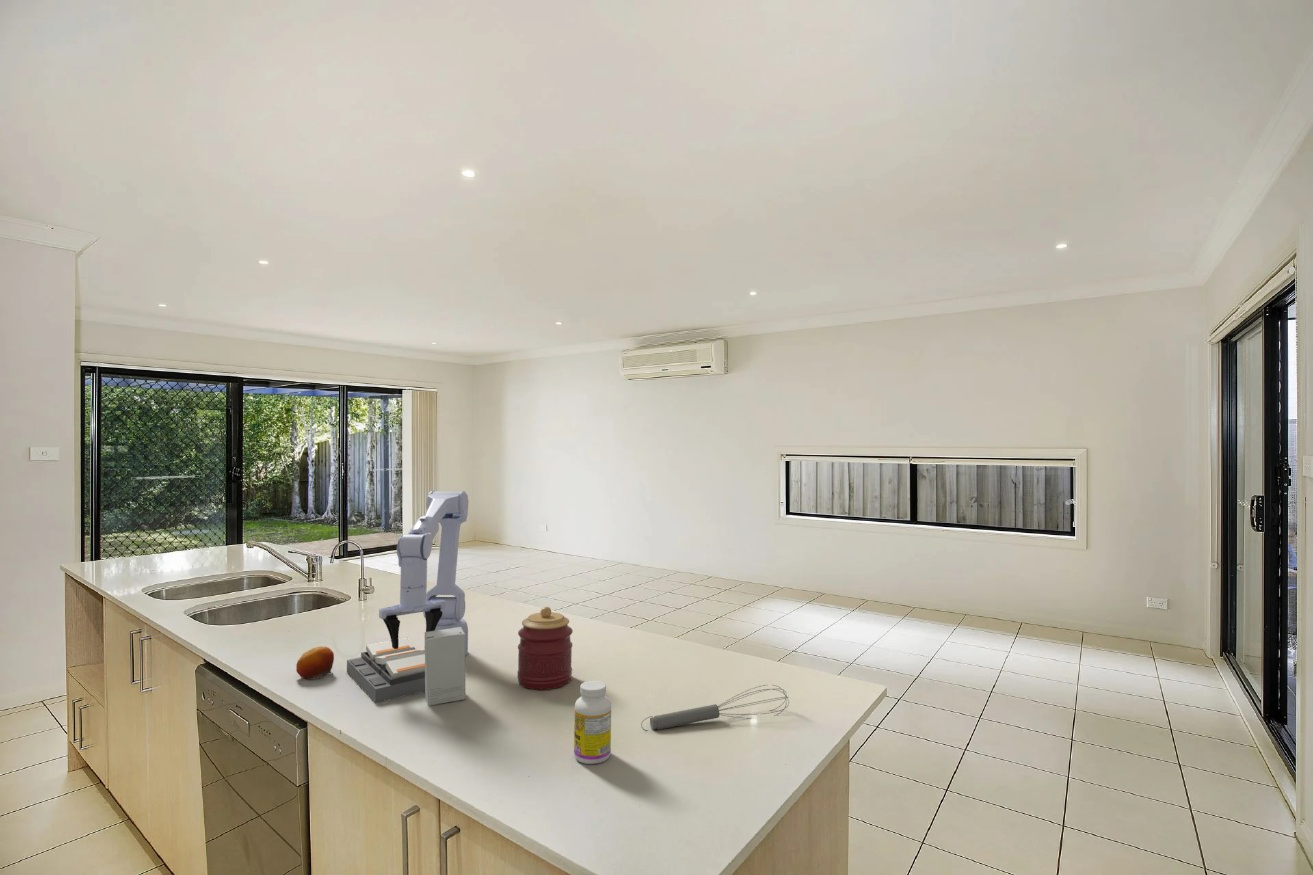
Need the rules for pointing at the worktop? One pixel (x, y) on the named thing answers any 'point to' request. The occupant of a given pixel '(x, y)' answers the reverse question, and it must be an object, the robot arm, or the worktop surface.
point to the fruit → (315, 663)
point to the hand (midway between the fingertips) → (412, 644)
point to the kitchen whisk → (701, 713)
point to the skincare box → (444, 666)
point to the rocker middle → (398, 656)
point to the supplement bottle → (592, 724)
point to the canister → (544, 651)
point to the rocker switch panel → (382, 679)
